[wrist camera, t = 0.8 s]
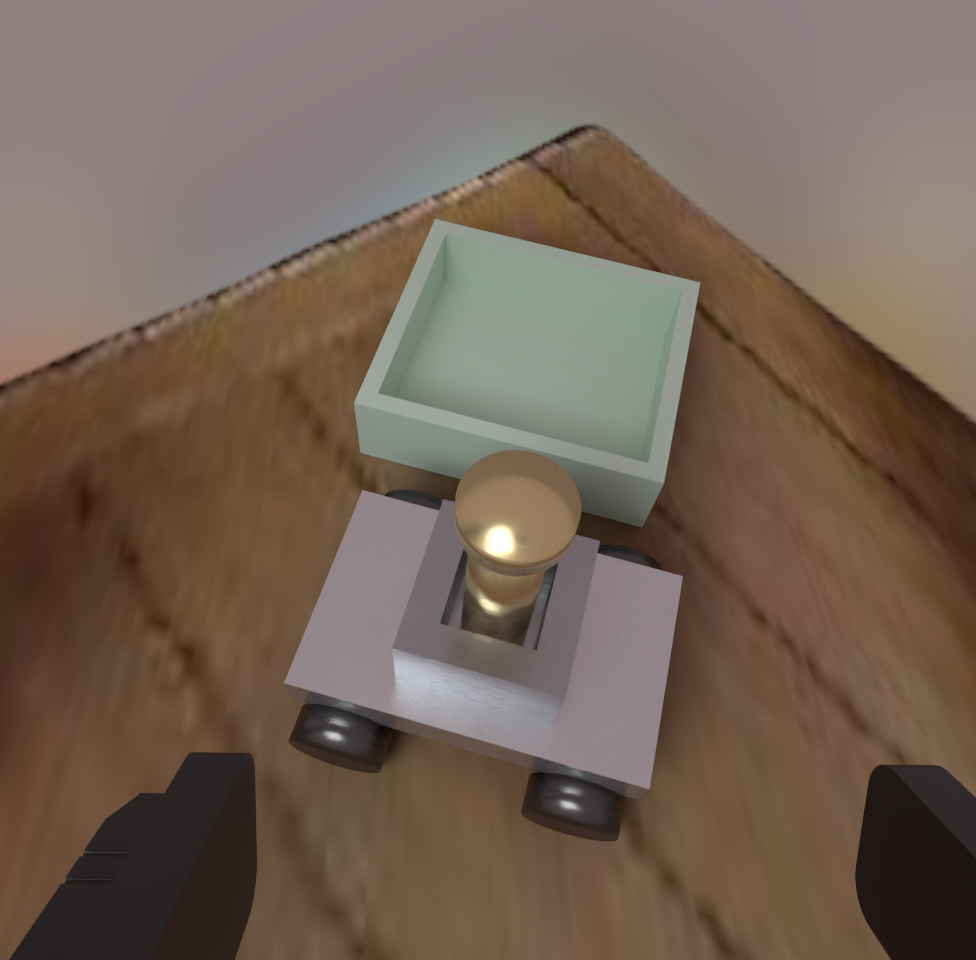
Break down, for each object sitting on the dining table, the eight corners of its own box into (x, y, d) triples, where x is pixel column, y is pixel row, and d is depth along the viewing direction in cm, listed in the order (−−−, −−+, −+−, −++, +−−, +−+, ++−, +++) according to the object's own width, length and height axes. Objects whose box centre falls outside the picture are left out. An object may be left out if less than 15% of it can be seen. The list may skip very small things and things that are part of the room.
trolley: (289, 751, 39) (252, 691, 31) (379, 519, 46) (368, 417, 38) (613, 848, 38) (668, 813, 30) (657, 595, 45) (712, 507, 36)
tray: (360, 452, 48) (353, 402, 44) (434, 276, 56) (435, 219, 52) (642, 527, 47) (664, 483, 43) (678, 336, 55) (700, 282, 50)
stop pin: (435, 657, 36) (439, 541, 26) (461, 573, 38) (474, 437, 28) (527, 683, 36) (566, 575, 26) (549, 597, 38) (592, 468, 28)
